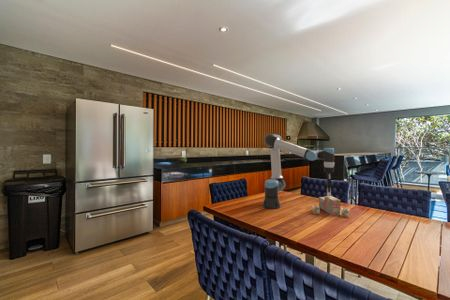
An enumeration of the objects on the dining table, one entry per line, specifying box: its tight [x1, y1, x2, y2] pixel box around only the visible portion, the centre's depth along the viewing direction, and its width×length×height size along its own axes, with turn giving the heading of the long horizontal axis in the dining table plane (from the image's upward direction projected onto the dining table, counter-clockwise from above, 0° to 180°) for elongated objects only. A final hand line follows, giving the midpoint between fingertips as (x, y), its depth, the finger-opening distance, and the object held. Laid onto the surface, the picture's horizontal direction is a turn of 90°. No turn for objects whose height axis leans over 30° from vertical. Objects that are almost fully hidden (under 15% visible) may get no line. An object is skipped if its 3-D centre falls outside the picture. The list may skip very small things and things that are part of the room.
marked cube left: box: [311, 205, 321, 215], centre depth 173 cm, size 5×5×5 cm
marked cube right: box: [340, 207, 350, 218], centre depth 165 cm, size 5×5×5 cm
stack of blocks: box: [318, 195, 341, 217], centre depth 176 cm, size 21×6×12 cm, turn 3°
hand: (328, 195), depth 175 cm, fingers closed
